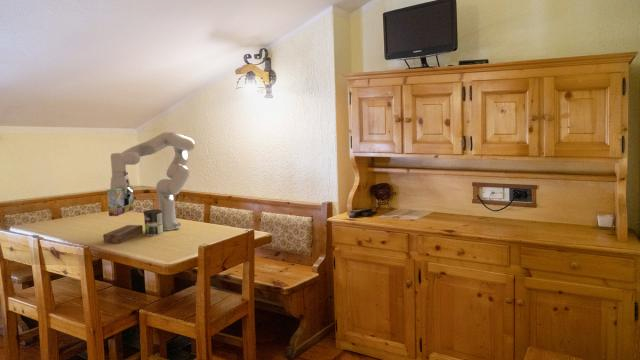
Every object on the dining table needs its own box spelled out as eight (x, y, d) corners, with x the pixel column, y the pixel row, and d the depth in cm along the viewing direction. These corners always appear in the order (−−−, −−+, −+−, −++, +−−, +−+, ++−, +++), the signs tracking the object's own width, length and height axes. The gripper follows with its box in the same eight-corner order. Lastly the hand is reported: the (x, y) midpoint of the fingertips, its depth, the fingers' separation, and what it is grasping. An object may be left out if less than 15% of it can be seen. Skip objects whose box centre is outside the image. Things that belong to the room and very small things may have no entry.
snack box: (118, 216, 254) (116, 189, 252) (108, 216, 254) (106, 189, 252) (134, 209, 275) (132, 184, 273) (125, 209, 275) (123, 184, 273)
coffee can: (149, 236, 268) (148, 213, 267) (142, 234, 276) (140, 211, 274) (166, 233, 276) (164, 210, 274) (158, 231, 283) (157, 208, 281)
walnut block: (143, 233, 278) (142, 225, 277) (120, 243, 254) (119, 234, 254) (127, 233, 279) (127, 225, 279) (103, 243, 256) (103, 234, 255)
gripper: (136, 173, 264) (138, 204, 267) (109, 173, 267) (111, 203, 269) (129, 175, 257) (131, 206, 259) (101, 175, 260) (103, 206, 262)
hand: (121, 204), depth 264 cm, fingers closed on snack box, 6 cm apart
